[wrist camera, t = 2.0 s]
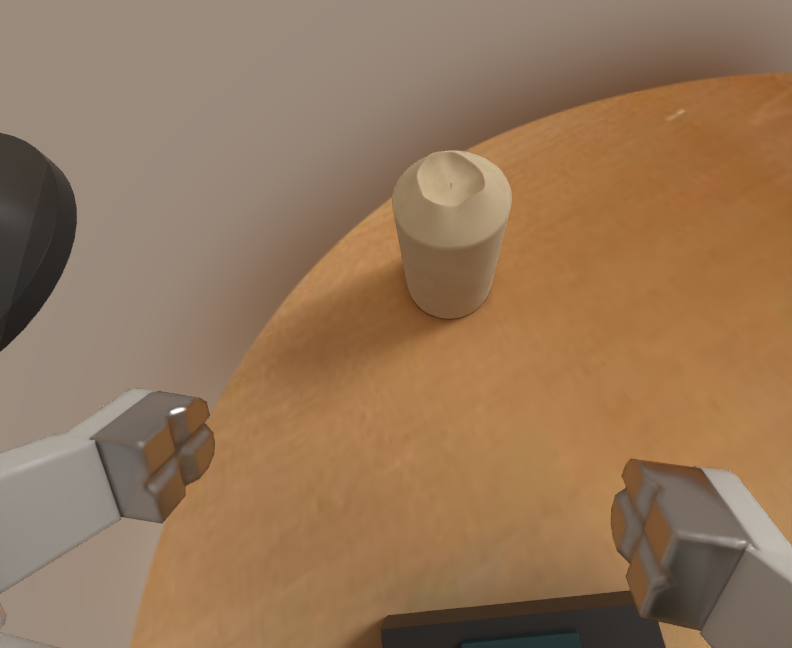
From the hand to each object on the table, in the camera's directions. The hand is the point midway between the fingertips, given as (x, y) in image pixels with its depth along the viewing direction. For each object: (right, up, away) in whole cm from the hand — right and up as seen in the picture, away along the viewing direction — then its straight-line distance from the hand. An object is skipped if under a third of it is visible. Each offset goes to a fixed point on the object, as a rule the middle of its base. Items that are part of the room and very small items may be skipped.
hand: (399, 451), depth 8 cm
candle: (+3, +5, +19) cm, 20 cm away
